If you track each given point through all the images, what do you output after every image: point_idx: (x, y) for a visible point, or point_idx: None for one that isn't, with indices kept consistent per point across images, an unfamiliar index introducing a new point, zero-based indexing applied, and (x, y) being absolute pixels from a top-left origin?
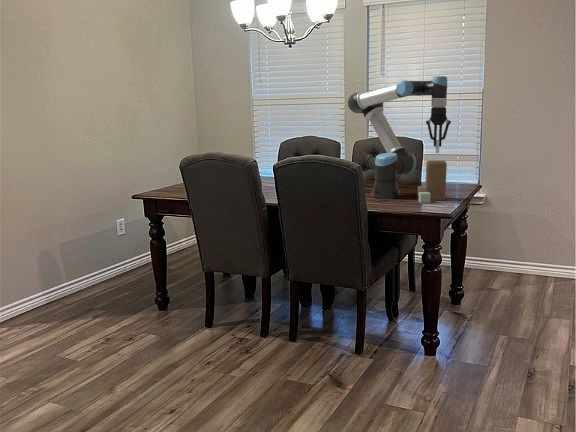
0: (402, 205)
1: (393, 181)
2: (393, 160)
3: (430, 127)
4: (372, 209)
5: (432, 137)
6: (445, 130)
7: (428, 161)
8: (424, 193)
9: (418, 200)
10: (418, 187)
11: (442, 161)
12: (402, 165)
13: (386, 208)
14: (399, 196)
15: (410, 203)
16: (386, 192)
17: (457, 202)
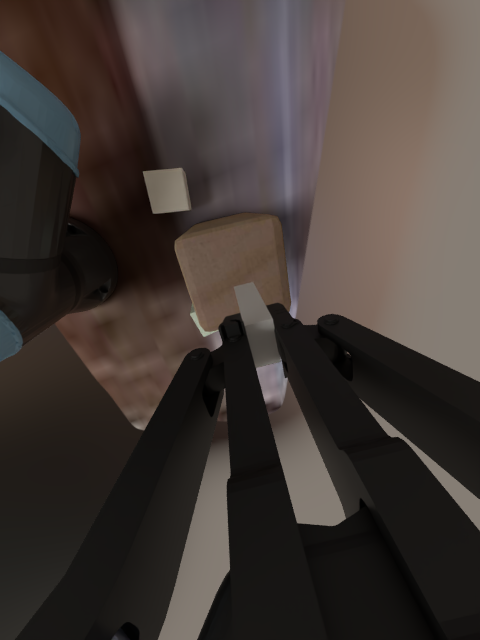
0: (173, 366)
1: (77, 300)
2: (13, 346)
3: (181, 540)
4: (132, 420)
5: (219, 396)
6: (403, 428)
7: (197, 292)
8: (212, 331)
9: (192, 304)
10: (156, 213)
11: (269, 269)
12: (47, 265)
13: (154, 404)
14: (114, 258)
15: (182, 338)
16: (84, 310)
17: (293, 282)
